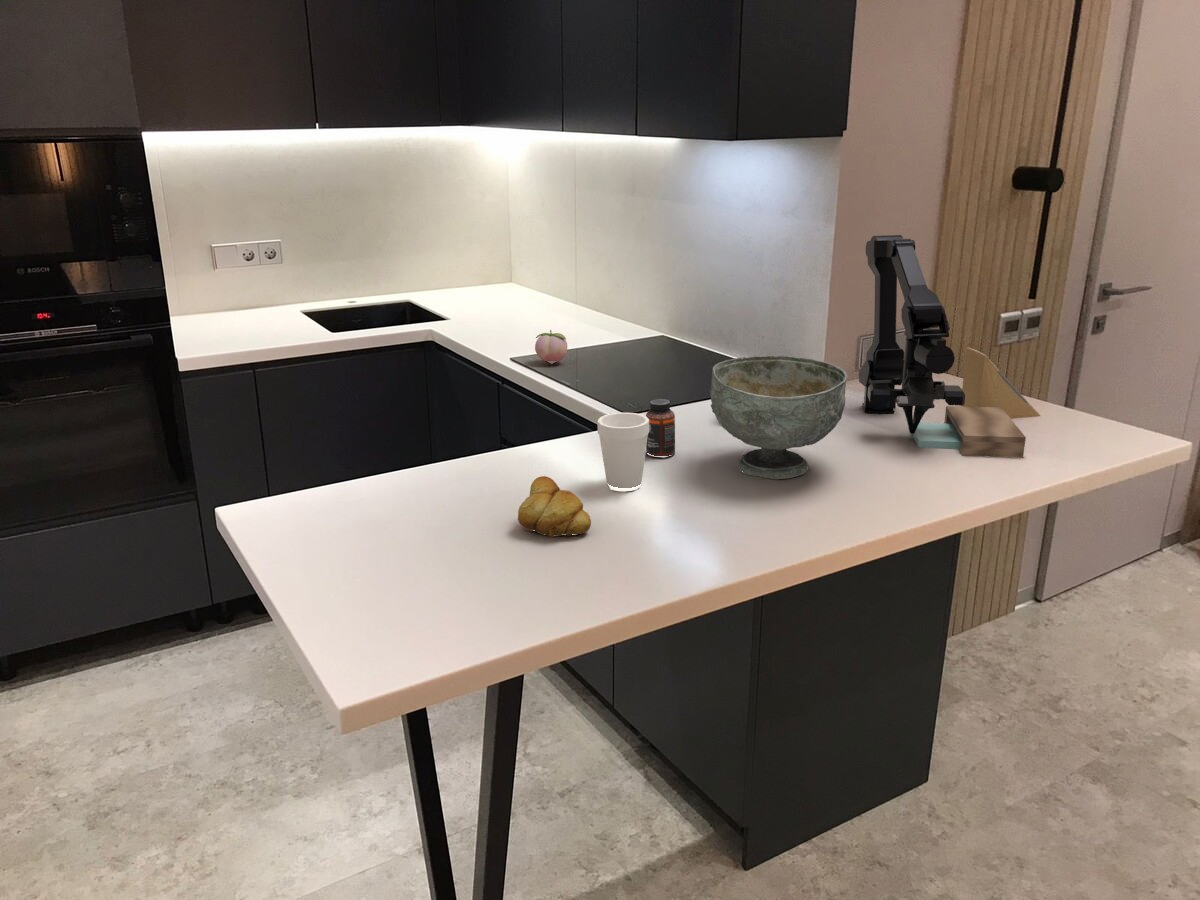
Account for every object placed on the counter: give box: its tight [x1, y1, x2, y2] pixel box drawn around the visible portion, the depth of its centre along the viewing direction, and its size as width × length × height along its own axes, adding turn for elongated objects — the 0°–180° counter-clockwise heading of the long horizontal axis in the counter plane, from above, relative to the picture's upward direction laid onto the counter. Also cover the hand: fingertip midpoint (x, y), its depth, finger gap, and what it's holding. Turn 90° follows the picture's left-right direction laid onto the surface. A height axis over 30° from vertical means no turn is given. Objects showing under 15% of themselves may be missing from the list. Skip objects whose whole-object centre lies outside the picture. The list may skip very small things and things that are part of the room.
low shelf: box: [943, 405, 1027, 458], centre depth 194 cm, size 12×20×4 cm, turn 171°
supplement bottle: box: [645, 398, 676, 456], centre depth 189 cm, size 6×6×11 cm
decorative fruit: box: [534, 329, 568, 362], centre depth 262 cm, size 9×8×10 cm
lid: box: [911, 422, 962, 450], centre depth 196 cm, size 12×12×2 cm
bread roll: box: [517, 475, 592, 537], centre depth 156 cm, size 13×10×8 cm
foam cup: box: [597, 412, 649, 488], centre depth 173 cm, size 10×9×13 cm
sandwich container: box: [961, 346, 1042, 419], centre depth 209 cm, size 9×15×15 cm, turn 96°
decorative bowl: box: [709, 355, 848, 480], centre depth 179 cm, size 26×26×20 cm
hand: (911, 433), depth 196 cm, fingers closed
